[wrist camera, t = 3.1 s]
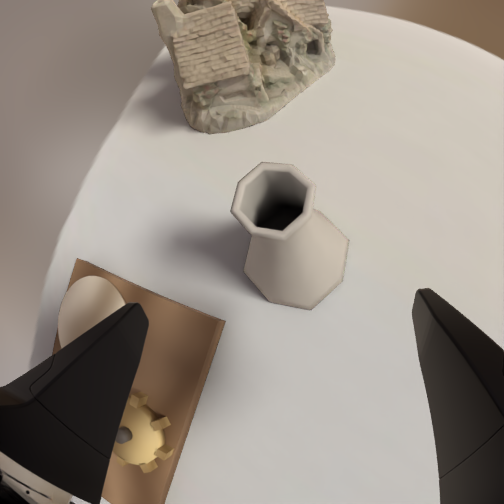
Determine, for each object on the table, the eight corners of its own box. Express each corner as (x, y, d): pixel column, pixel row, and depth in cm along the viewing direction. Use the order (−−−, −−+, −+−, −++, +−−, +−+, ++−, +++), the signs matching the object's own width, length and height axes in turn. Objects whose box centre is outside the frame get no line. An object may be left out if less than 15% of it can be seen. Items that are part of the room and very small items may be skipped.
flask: (227, 276, 21) (153, 237, 12) (277, 193, 22) (243, 104, 12) (316, 328, 19) (310, 334, 9) (365, 236, 19) (396, 162, 10)
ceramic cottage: (168, 138, 26) (88, 17, 11) (207, 42, 30) (171, -51, 15) (339, 139, 23) (351, -25, 8) (332, 39, 27) (329, -68, 12)
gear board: (225, 321, 20) (205, 320, 17) (158, 522, 17) (138, 539, 13) (87, 261, 25) (60, 252, 21) (52, 441, 21) (29, 447, 18)
